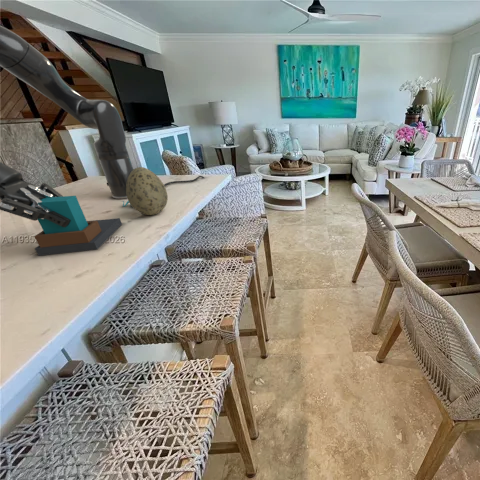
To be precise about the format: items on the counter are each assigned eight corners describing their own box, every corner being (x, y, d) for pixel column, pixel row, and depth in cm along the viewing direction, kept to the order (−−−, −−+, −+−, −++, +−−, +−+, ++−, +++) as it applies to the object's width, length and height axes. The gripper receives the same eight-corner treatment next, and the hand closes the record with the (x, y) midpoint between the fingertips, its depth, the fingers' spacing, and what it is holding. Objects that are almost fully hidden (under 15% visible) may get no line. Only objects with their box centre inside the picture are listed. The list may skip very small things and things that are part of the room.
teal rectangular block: (59, 236, 66) (40, 197, 62) (92, 233, 68) (75, 195, 63) (49, 243, 63) (28, 203, 58) (84, 239, 64) (66, 200, 60)
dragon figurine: (113, 208, 87) (135, 197, 88) (113, 195, 91) (134, 184, 92) (129, 220, 93) (150, 209, 93) (129, 207, 97) (149, 196, 97)
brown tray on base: (74, 228, 76) (67, 212, 74) (122, 224, 79) (116, 208, 76) (38, 256, 62) (27, 237, 60) (97, 249, 65) (89, 231, 63)
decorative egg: (162, 219, 82) (148, 170, 75) (126, 220, 81) (108, 171, 74) (177, 207, 91) (165, 163, 84) (145, 208, 91) (130, 163, 84)
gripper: (-42, 166, 49) (65, 220, 57) (14, 154, 61) (96, 199, 69) (-61, 196, 50) (47, 244, 58) (-2, 178, 62) (80, 220, 70)
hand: (73, 220), depth 64 cm, fingers closed on teal rectangular block, 4 cm apart
